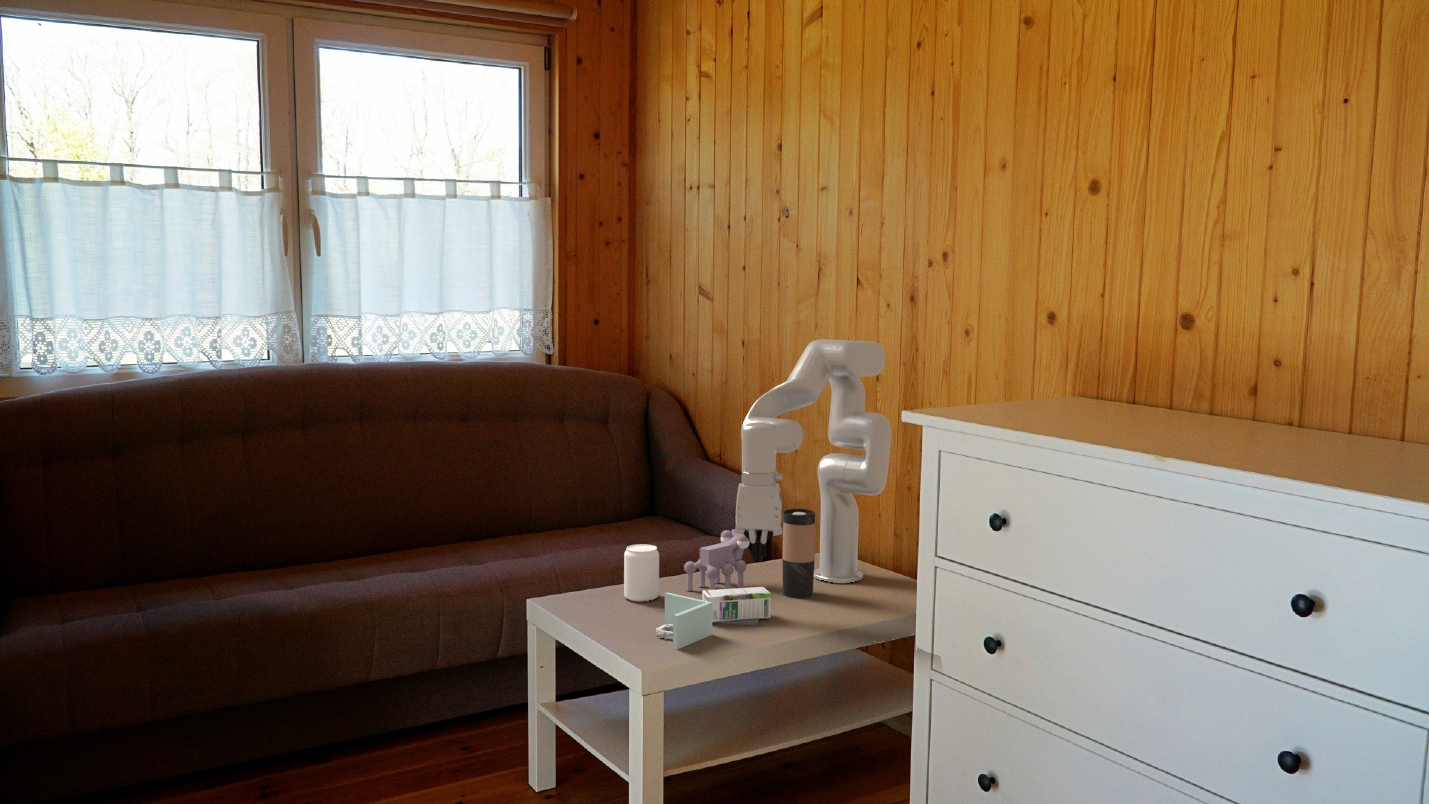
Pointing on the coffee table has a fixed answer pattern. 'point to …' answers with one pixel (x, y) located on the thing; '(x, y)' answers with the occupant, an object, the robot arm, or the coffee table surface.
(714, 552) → the lavender lumpy figurine
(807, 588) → the travel mug
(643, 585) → the beverage can
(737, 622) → the mat
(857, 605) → the coffee table surface
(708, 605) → the right angle wall
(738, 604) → the syrup box
